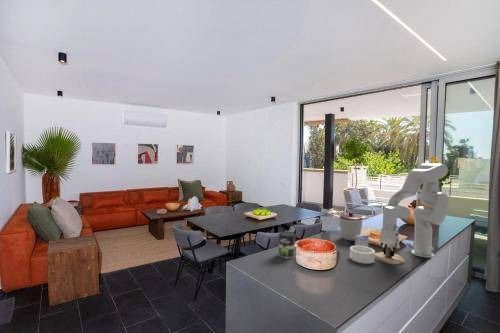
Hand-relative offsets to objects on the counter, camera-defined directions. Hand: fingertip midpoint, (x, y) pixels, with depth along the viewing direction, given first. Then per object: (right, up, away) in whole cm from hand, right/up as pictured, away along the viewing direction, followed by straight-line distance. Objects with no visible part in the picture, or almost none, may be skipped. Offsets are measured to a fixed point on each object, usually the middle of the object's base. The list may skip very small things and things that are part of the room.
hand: (388, 255), depth 163 cm
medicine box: (-8, -2, +21) cm, 22 cm away
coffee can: (-63, -2, +4) cm, 63 cm away
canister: (-9, -1, +40) cm, 41 cm away
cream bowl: (-17, -2, 0) cm, 17 cm away
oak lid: (0, -2, 0) cm, 2 cm away
